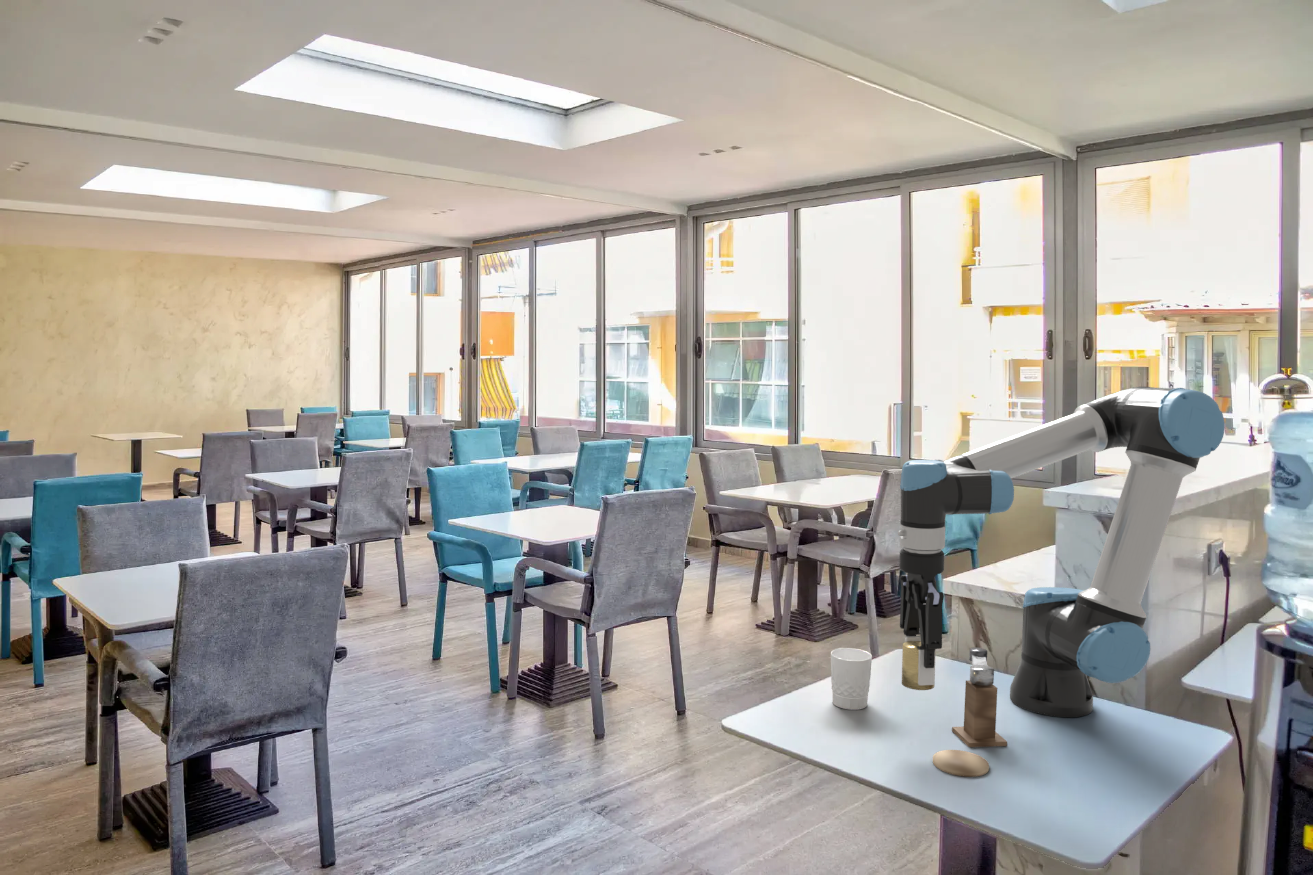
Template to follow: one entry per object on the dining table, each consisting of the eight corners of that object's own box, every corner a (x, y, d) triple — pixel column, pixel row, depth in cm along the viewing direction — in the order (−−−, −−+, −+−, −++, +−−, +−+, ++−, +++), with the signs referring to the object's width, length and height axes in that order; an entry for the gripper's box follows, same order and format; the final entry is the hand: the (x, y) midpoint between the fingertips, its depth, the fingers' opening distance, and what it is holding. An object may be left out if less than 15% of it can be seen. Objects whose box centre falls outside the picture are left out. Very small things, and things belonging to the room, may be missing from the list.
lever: (994, 686, 163) (994, 673, 162) (970, 684, 164) (970, 670, 163) (988, 658, 177) (989, 646, 177) (966, 656, 179) (967, 644, 178)
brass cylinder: (927, 678, 167) (928, 640, 166) (939, 689, 161) (940, 650, 161) (896, 679, 166) (897, 641, 166) (908, 690, 161) (909, 651, 160)
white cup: (870, 713, 177) (872, 662, 176) (828, 709, 179) (830, 659, 178) (869, 698, 185) (871, 649, 184) (829, 694, 186) (831, 646, 186)
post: (988, 729, 170) (990, 676, 169) (1007, 746, 163) (1009, 690, 162) (951, 731, 169) (954, 677, 168) (968, 747, 162) (971, 692, 161)
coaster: (974, 752, 160) (974, 748, 160) (998, 775, 151) (999, 772, 151) (924, 754, 159) (924, 750, 159) (946, 778, 150) (946, 774, 150)
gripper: (882, 538, 170) (880, 661, 172) (922, 561, 152) (919, 698, 154) (921, 537, 171) (919, 659, 173) (966, 560, 153) (962, 696, 155)
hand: (919, 677), depth 164 cm, fingers closed on brass cylinder, 5 cm apart
